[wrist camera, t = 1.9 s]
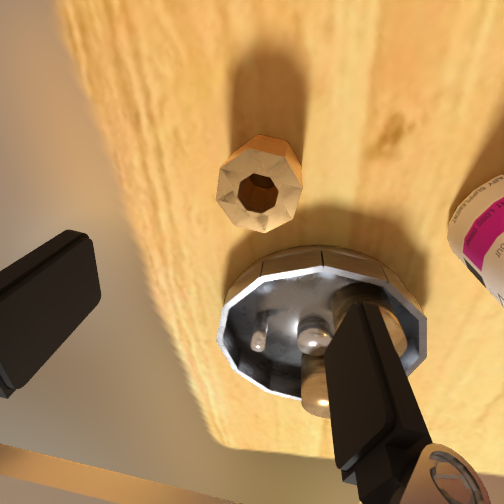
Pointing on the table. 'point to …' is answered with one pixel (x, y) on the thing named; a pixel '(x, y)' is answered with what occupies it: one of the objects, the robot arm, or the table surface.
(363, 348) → the robot arm
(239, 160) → the tan hollow faceted cylinder
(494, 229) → the supplement can
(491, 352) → the table surface
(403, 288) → the tray
